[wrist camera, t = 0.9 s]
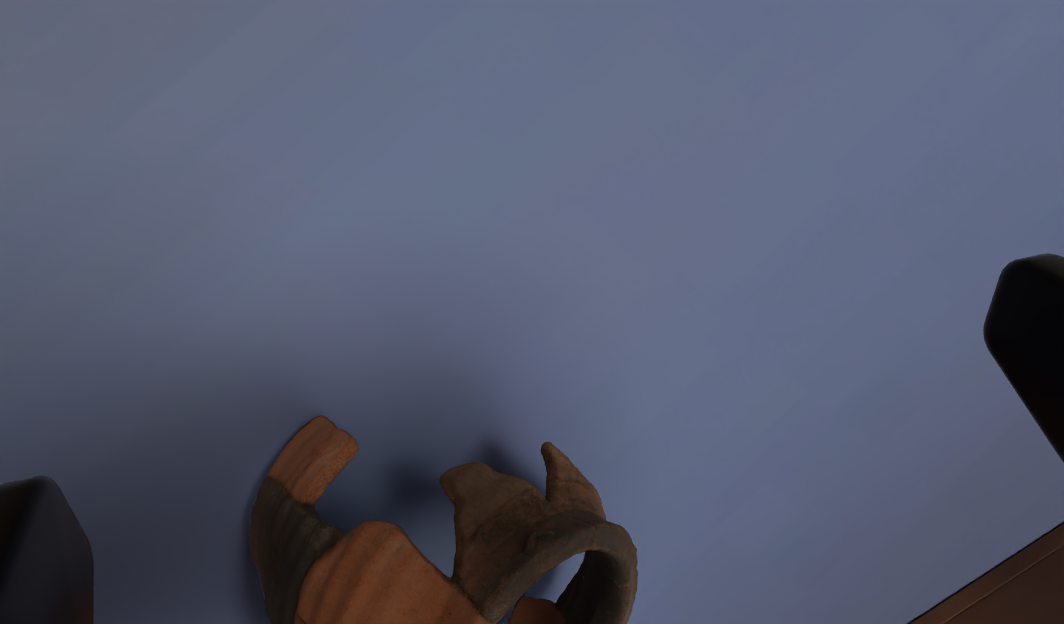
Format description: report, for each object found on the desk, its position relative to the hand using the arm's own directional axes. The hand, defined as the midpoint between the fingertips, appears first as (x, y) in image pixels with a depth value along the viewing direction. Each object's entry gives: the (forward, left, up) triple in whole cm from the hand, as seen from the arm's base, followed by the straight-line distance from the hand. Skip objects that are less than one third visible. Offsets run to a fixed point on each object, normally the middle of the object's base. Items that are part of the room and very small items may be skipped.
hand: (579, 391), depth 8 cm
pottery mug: (-11, -5, -16) cm, 20 cm away
